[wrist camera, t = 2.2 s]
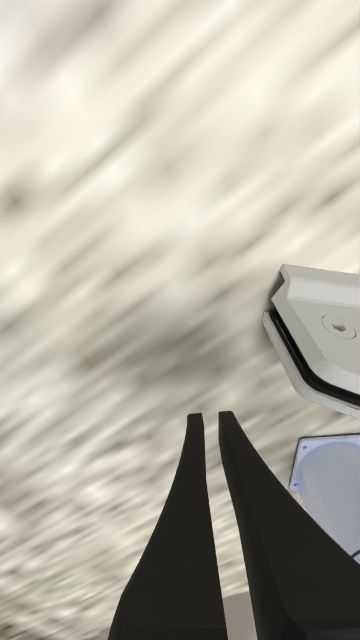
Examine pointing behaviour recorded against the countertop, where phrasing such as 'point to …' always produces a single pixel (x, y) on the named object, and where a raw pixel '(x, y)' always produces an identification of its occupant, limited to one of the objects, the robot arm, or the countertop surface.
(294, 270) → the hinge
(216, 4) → the countertop surface
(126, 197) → the countertop surface
